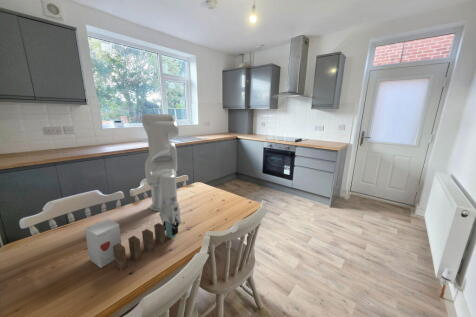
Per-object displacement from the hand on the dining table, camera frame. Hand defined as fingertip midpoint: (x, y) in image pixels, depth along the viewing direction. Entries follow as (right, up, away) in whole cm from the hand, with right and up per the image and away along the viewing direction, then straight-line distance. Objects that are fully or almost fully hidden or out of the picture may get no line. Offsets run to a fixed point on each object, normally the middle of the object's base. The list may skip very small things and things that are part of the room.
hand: (170, 231), depth 96 cm
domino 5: (0, -2, 0) cm, 2 cm away
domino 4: (-3, -3, -4) cm, 6 cm away
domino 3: (-7, -4, -9) cm, 12 cm away
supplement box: (-22, -5, -15) cm, 27 cm away
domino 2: (-10, -6, -14) cm, 18 cm away
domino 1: (-13, -7, -19) cm, 24 cm away
